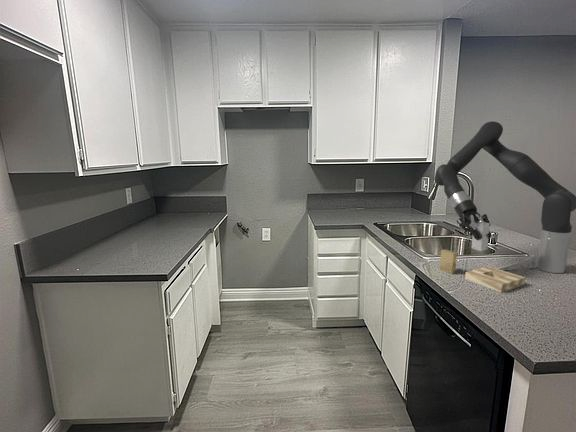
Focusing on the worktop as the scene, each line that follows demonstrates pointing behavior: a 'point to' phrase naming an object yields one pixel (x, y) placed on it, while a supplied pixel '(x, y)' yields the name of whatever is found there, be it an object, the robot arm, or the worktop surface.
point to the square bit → (484, 232)
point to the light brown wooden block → (448, 261)
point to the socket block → (495, 278)
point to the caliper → (521, 263)
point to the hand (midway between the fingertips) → (484, 238)
